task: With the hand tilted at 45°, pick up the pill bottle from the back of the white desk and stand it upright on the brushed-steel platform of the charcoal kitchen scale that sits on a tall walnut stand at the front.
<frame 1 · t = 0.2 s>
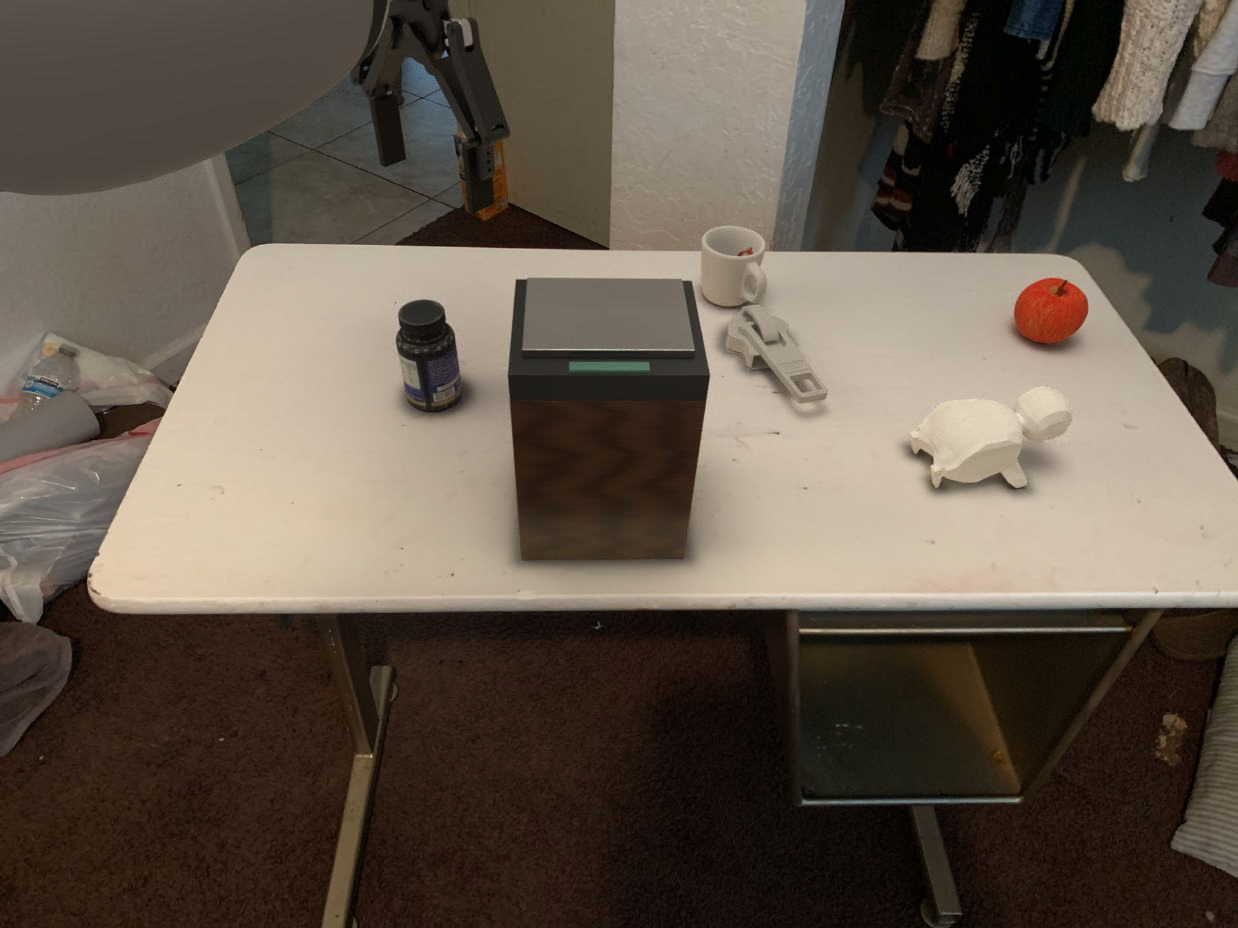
hand: (435, 184, 83), 21 cm above the table, tool pointing down, fingers open, 13 cm apart
zipper pull: (773, 369, 98), on the table
scale: (606, 349, 68), resting on stand
stand: (601, 507, 81), on the table
cup: (731, 302, 108), on the table
pill bottle: (434, 396, 92), on the table
apple: (1037, 336, 105), on the table
white turtle figurine: (978, 463, 88), on the table
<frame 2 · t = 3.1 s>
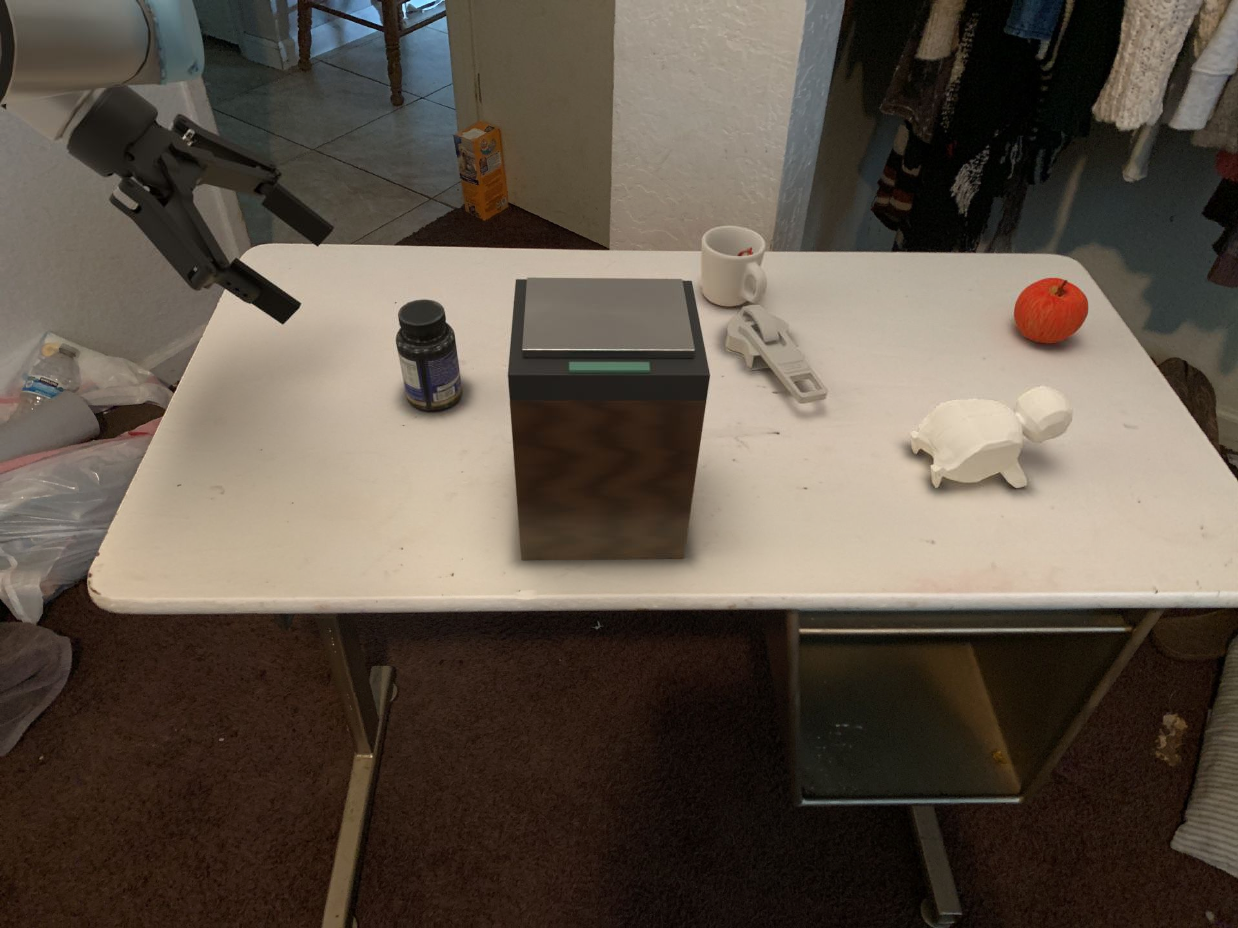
hand: (310, 273, 81), 15 cm above the table, tool tilted 45°, fingers open, 13 cm apart
nothing on the table moved.
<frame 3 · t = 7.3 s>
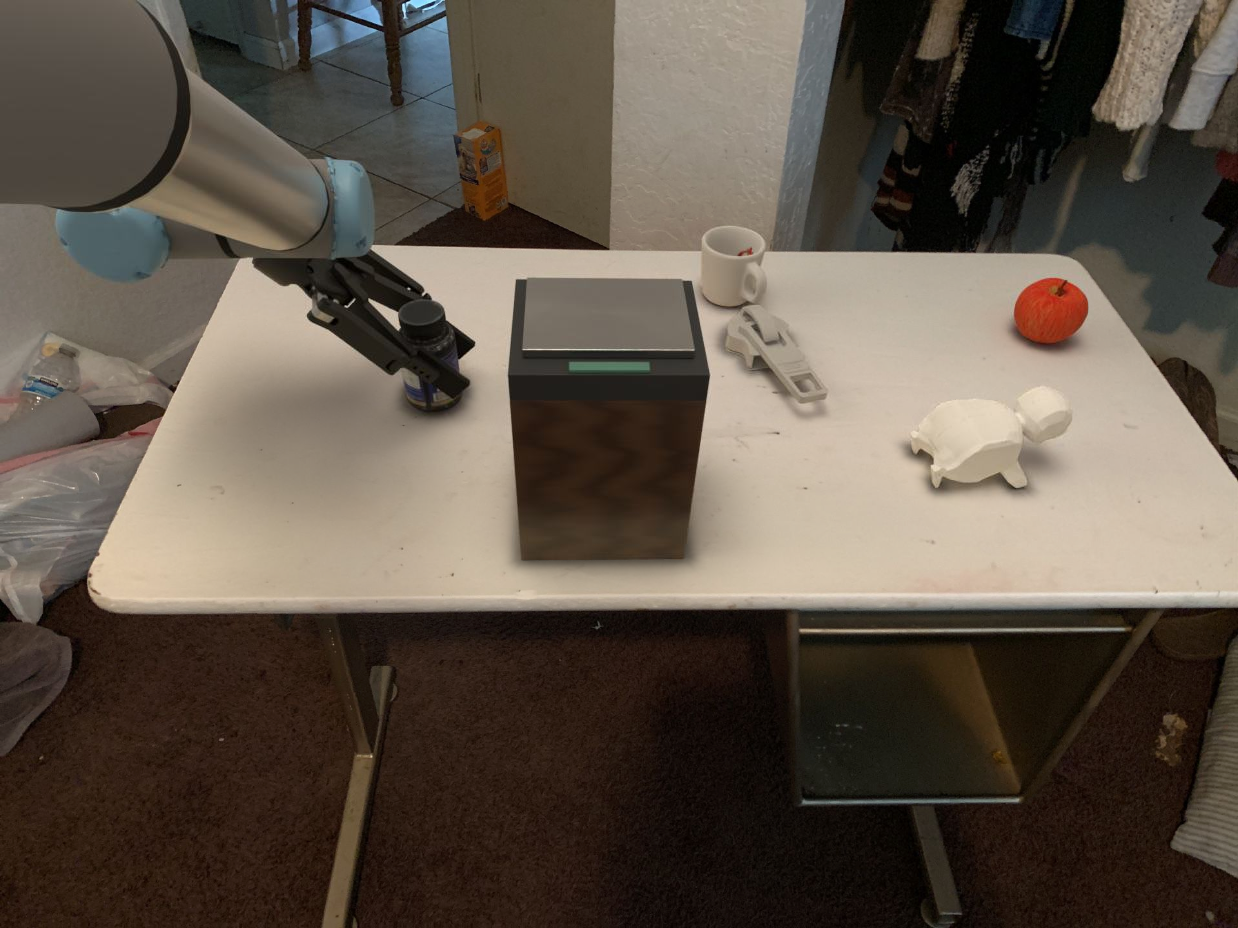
hand: (464, 369, 90), 4 cm above the table, tool tilted 45°, fingers closed on pill bottle, 6 cm apart
pill bottle: (434, 396, 92), on the table, touching gripper
everything else where it was.
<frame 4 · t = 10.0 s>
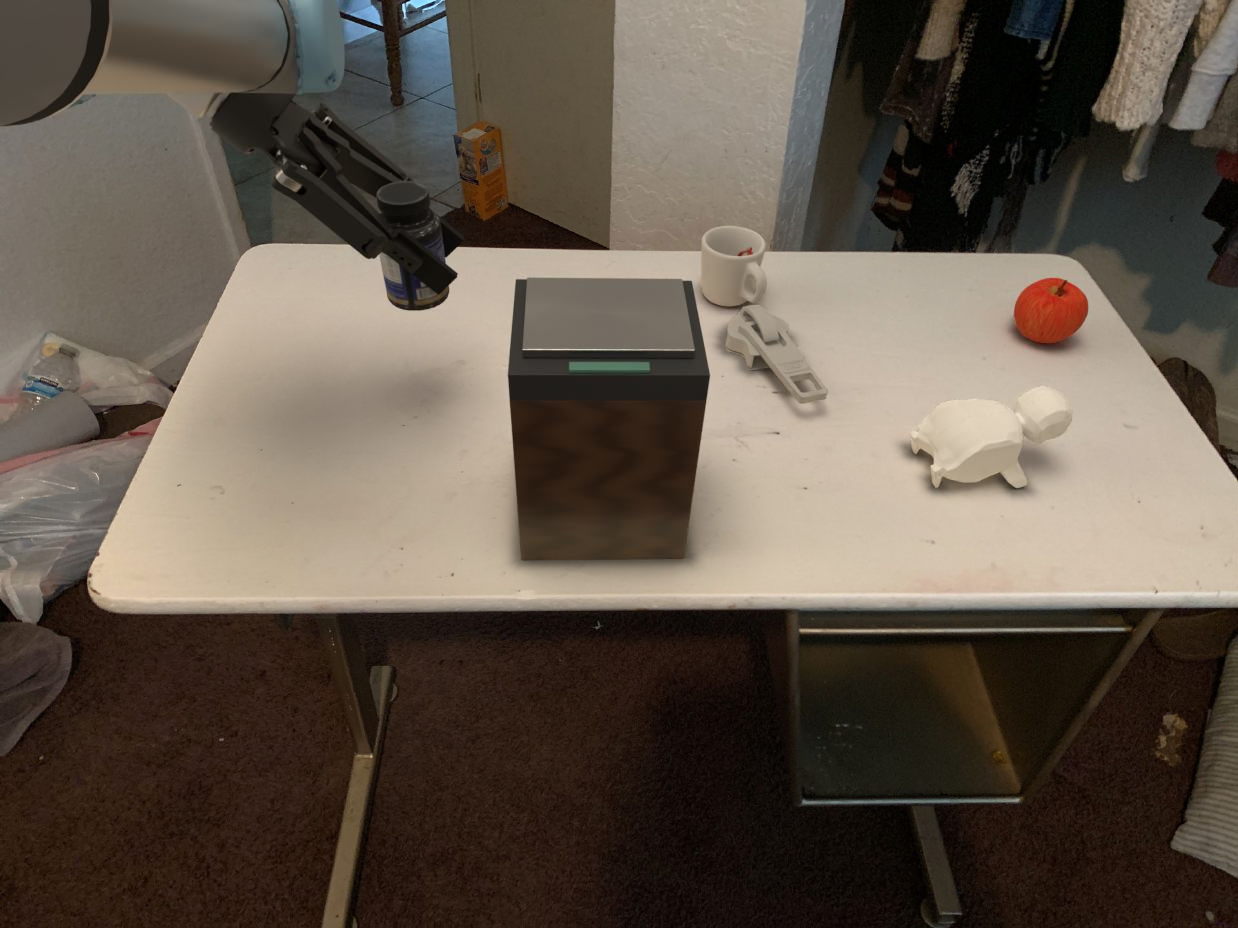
hand: (451, 265, 81), 17 cm above the table, tool tilted 45°, fingers closed on pill bottle, 6 cm apart
pill bottle: (418, 298, 83), point 13 cm above the table, touching gripper
everything else where it was.
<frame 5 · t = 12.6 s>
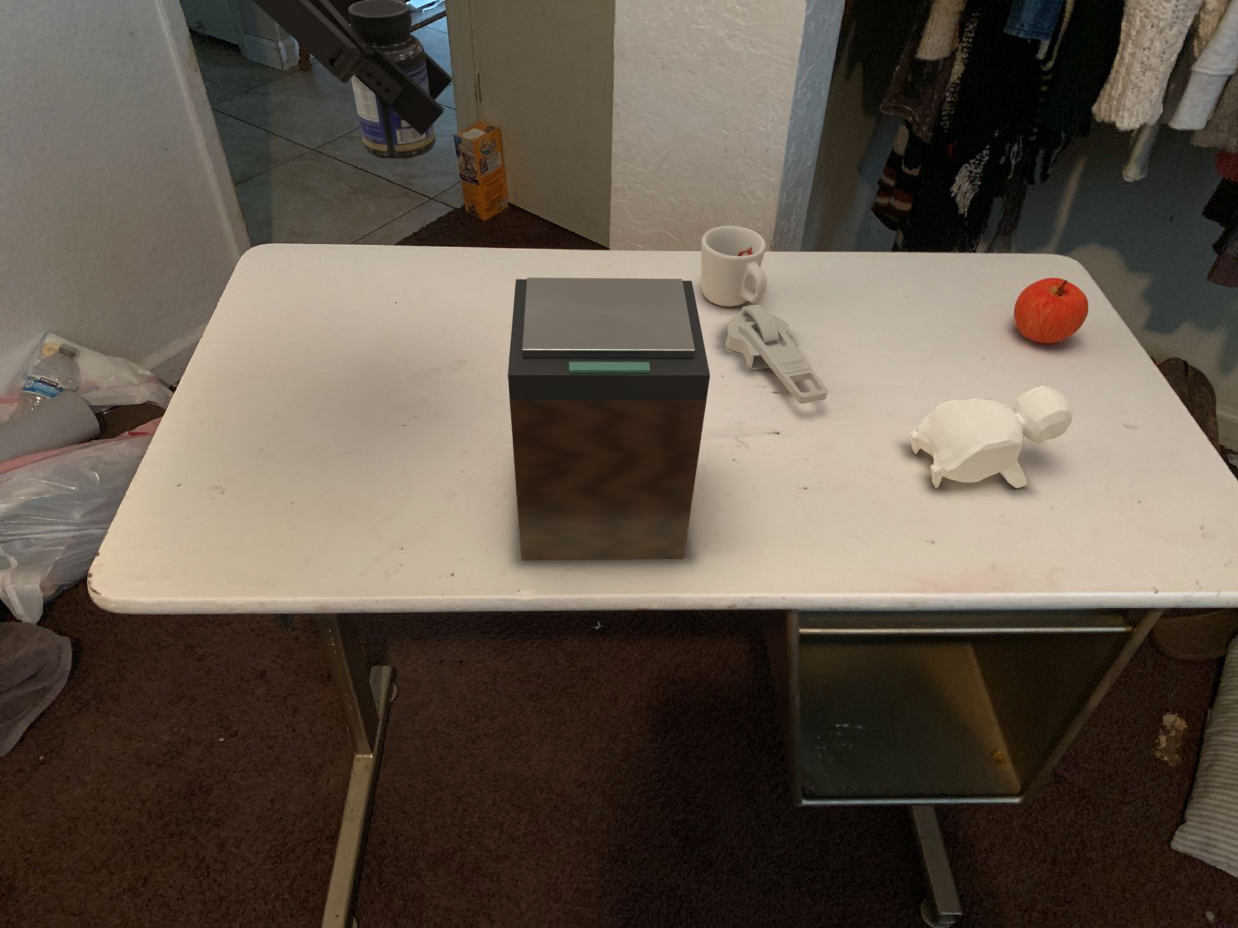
hand: (437, 105, 70), 32 cm above the table, tool tilted 45°, fingers closed on pill bottle, 6 cm apart
pill bottle: (400, 149, 72), point 28 cm above the table, touching gripper
everything else where it was.
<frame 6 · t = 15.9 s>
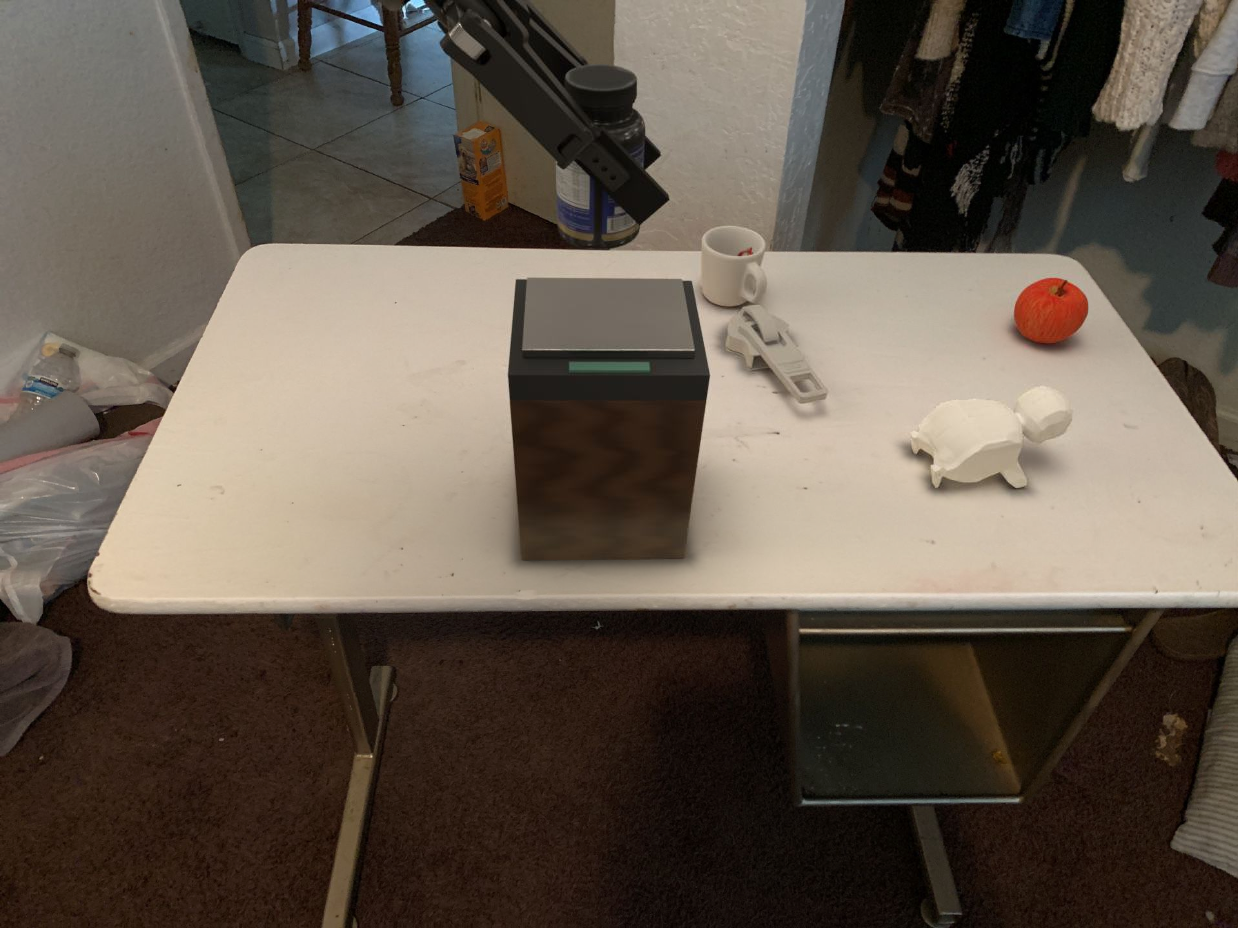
hand: (649, 186, 59), 33 cm above the table, tool tilted 45°, fingers closed on pill bottle, 6 cm apart
pill bottle: (598, 234, 61), point 29 cm above the table, touching gripper
everything else where it was.
when the fingers open (26 cm above the table, at t = 18.2 s): pill bottle stays where it is, resting on scale.
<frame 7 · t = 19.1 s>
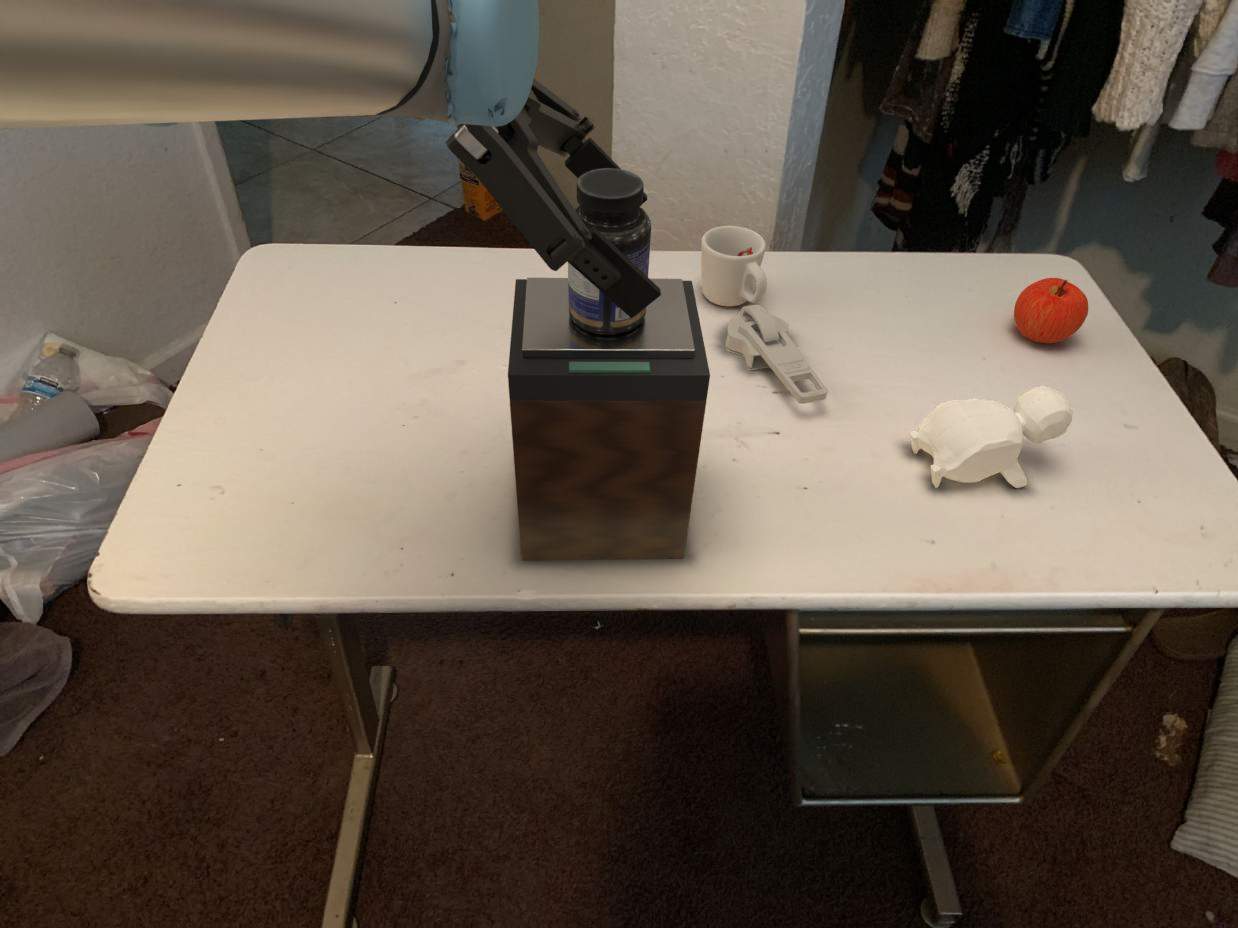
hand: (640, 253, 62), 28 cm above the table, tool tilted 45°, fingers open, 13 cm apart
pill bottle: (606, 317, 66), point 22 cm above the table, touching scale
everything else where it was.
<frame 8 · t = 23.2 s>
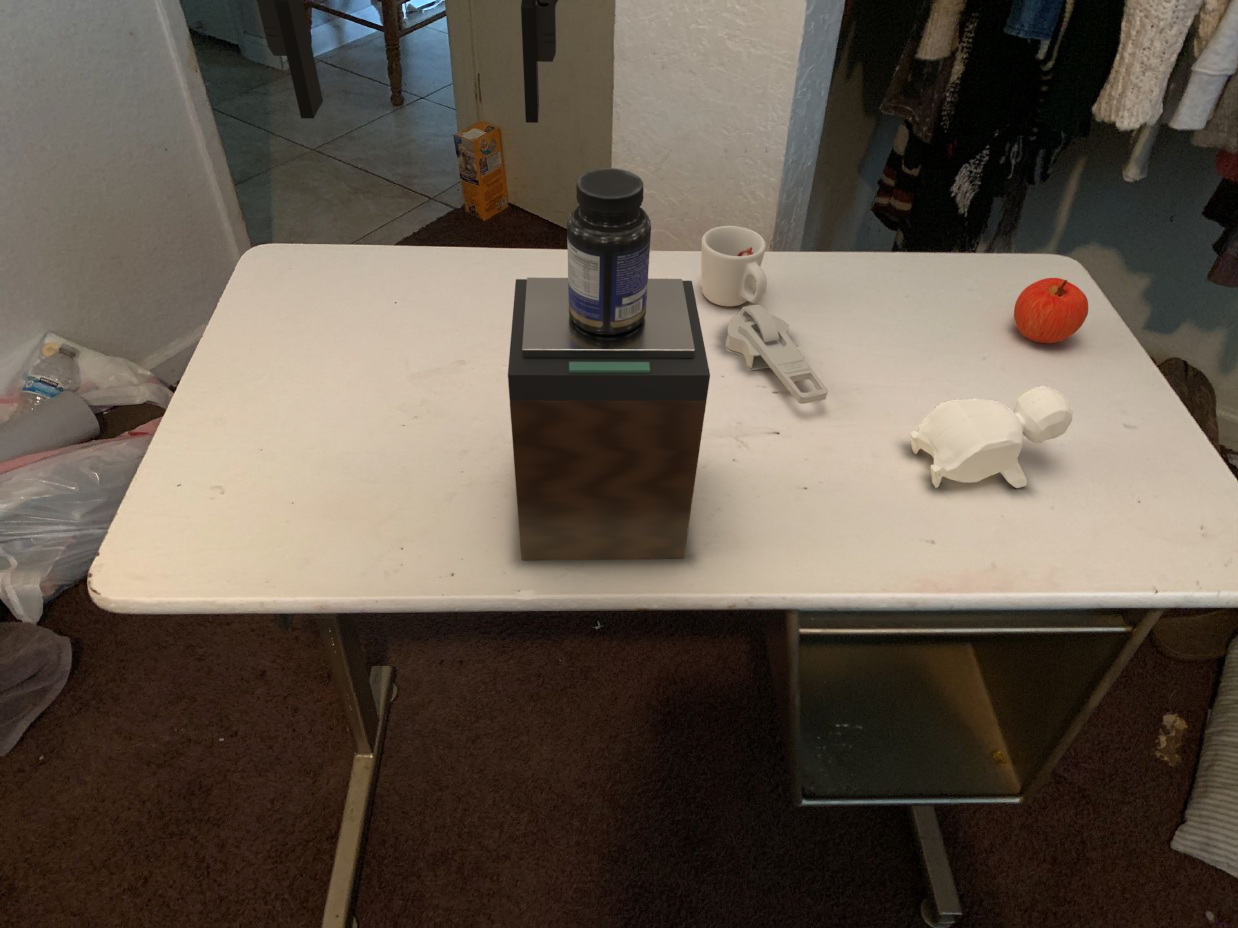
hand: (423, 112, 52), 39 cm above the table, tool pointing down, fingers open, 13 cm apart
nothing on the table moved.
at the end: pill bottle inside the target area on the scale (0.8 cm from its centre), point 3.1 cm above the scale's base; pill bottle tilted 0°; the gripper is holding nothing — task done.
